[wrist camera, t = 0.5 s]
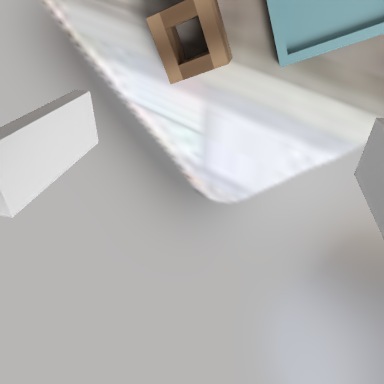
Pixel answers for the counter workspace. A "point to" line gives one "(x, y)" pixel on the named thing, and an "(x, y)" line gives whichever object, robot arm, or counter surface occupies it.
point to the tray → (322, 25)
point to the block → (171, 46)
